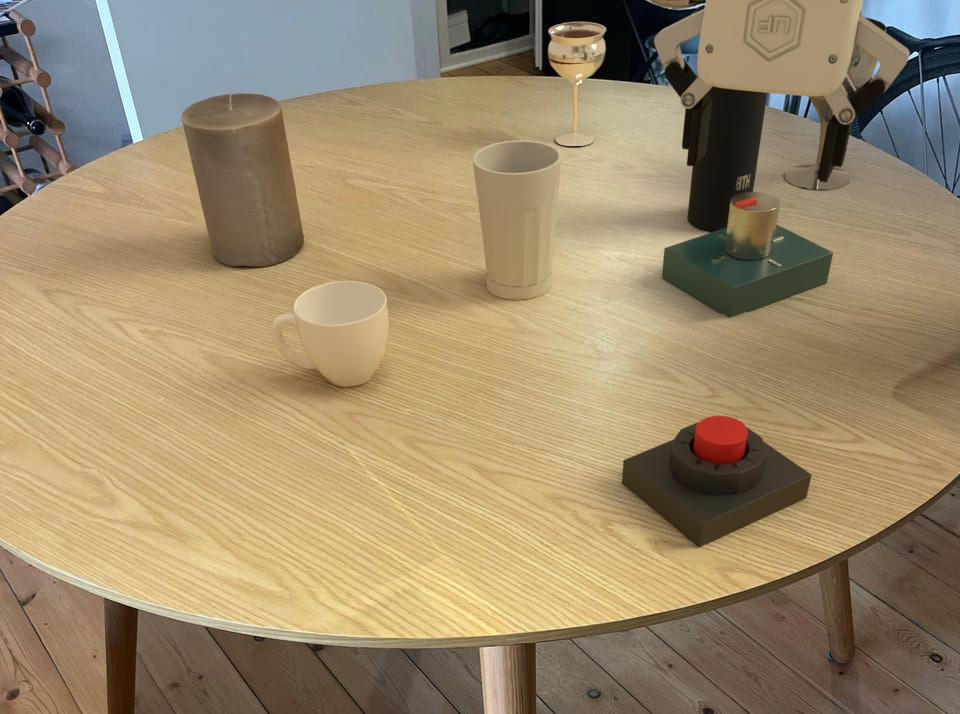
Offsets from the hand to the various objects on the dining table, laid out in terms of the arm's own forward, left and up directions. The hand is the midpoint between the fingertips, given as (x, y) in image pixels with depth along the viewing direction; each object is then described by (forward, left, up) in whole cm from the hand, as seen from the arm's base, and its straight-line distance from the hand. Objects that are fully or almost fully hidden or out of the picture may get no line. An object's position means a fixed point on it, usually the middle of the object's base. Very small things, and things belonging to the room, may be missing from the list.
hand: (759, 167), depth 76 cm
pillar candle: (+25, -46, -17) cm, 55 cm away
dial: (-11, -11, -13) cm, 21 cm away
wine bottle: (-18, -23, -17) cm, 34 cm away
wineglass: (-19, -51, -17) cm, 57 cm away
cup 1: (+29, -18, -17) cm, 38 cm away
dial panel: (-11, -11, -16) cm, 23 cm away
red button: (+13, +13, -13) cm, 22 cm away
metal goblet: (-34, -25, -17) cm, 45 cm away
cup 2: (+7, -23, -17) cm, 29 cm away
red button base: (+13, +13, -16) cm, 25 cm away
